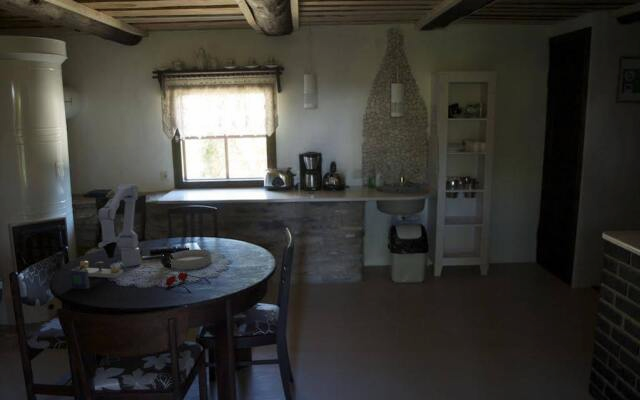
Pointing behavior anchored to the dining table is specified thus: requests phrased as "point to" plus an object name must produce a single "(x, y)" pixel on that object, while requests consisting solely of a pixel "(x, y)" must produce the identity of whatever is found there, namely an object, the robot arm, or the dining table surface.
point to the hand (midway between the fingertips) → (110, 257)
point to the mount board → (102, 273)
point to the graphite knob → (99, 264)
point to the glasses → (182, 277)
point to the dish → (190, 259)
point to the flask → (80, 278)
